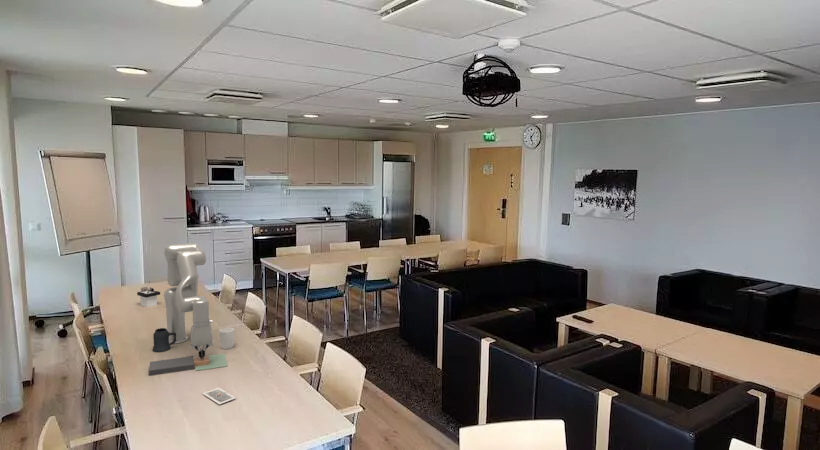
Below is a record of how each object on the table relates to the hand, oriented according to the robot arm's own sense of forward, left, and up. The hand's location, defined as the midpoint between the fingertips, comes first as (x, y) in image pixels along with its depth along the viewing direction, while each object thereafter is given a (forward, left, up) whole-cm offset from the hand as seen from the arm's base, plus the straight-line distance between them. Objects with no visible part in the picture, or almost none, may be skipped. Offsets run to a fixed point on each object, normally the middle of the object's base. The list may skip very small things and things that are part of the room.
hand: (202, 357), depth 246 cm
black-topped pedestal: (-130, -30, -4) cm, 134 cm away
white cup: (-20, +14, -3) cm, 25 cm away
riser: (0, -14, -3) cm, 14 cm away
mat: (0, +4, -3) cm, 5 cm away
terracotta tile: (0, 0, -3) cm, 3 cm away
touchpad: (+43, +5, -4) cm, 43 cm away
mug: (-30, -18, -3) cm, 35 cm away
